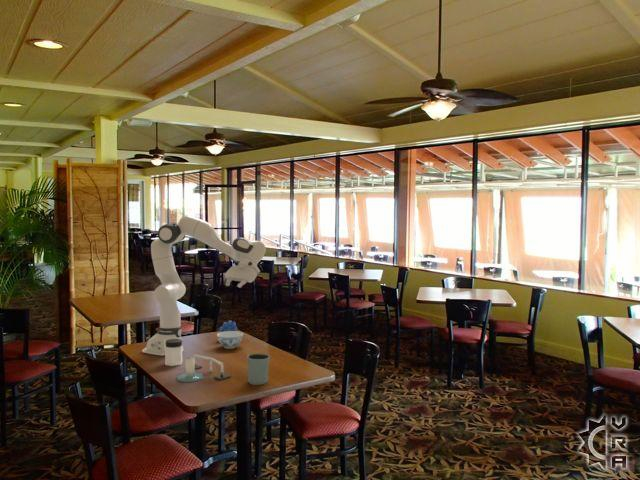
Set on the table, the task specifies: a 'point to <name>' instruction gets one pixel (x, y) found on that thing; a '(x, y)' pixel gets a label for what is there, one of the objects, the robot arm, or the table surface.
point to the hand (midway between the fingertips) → (232, 286)
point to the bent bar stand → (218, 377)
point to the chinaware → (230, 338)
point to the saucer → (196, 378)
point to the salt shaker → (190, 367)
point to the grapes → (228, 326)
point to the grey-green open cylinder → (257, 368)
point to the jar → (173, 352)
